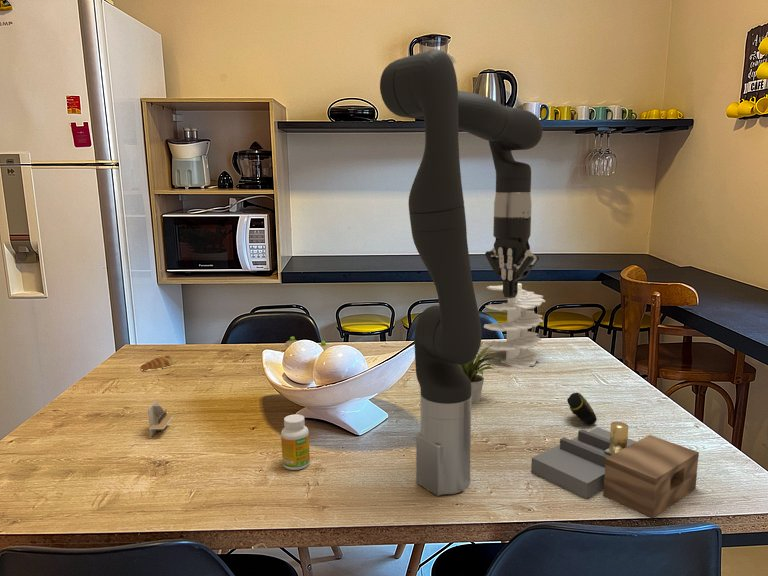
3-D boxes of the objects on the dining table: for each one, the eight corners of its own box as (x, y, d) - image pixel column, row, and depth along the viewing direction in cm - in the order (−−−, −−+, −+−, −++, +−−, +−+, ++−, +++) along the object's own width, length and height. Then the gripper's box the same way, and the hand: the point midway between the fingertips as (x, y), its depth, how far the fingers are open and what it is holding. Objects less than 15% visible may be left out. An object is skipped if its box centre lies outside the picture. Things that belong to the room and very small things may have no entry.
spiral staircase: (538, 355, 181) (541, 279, 177) (545, 373, 164) (548, 289, 159) (481, 353, 184) (482, 278, 180) (482, 370, 167) (483, 288, 162)
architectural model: (174, 429, 130) (172, 399, 128) (164, 443, 123) (162, 411, 121) (159, 430, 129) (156, 399, 128) (148, 443, 123) (145, 411, 121)
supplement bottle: (297, 473, 108) (295, 426, 106) (276, 466, 111) (274, 420, 109) (315, 461, 112) (313, 416, 111) (294, 455, 115) (292, 410, 114)
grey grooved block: (586, 499, 98) (588, 472, 97) (531, 472, 107) (532, 447, 106) (651, 461, 111) (653, 437, 110) (596, 440, 120) (598, 418, 119)
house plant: (470, 418, 132) (471, 352, 129) (428, 402, 142) (428, 340, 140) (507, 403, 141) (509, 340, 139) (465, 389, 152) (466, 330, 149)
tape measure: (587, 429, 128) (601, 420, 127) (572, 417, 125) (586, 407, 124) (574, 407, 134) (587, 398, 133) (559, 395, 131) (572, 386, 129)
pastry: (146, 376, 164) (145, 364, 164) (137, 371, 169) (135, 359, 168) (177, 369, 171) (176, 357, 170) (167, 363, 175) (166, 352, 175)
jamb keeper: (652, 518, 92) (655, 478, 91) (603, 494, 99) (605, 458, 98) (695, 488, 101) (699, 452, 100) (647, 468, 108) (649, 435, 107)
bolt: (662, 484, 96) (665, 446, 95) (603, 460, 104) (606, 425, 103) (673, 477, 98) (677, 440, 97) (615, 454, 107) (617, 419, 106)
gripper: (476, 214, 118) (474, 295, 121) (526, 216, 108) (523, 304, 111) (500, 213, 123) (498, 290, 126) (550, 215, 112) (547, 299, 115)
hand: (510, 297), depth 118 cm, fingers closed
